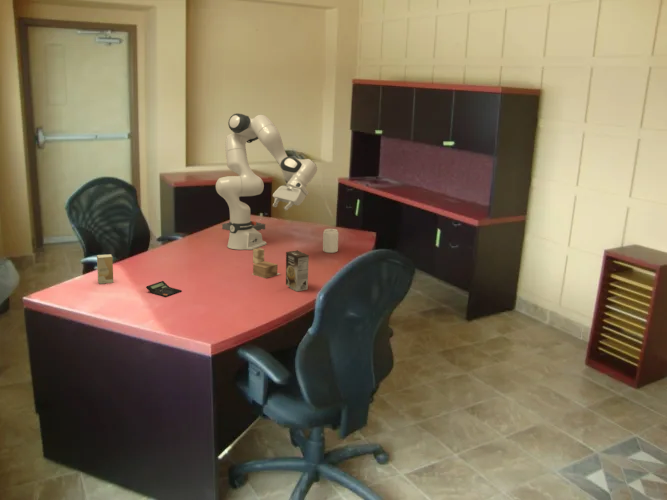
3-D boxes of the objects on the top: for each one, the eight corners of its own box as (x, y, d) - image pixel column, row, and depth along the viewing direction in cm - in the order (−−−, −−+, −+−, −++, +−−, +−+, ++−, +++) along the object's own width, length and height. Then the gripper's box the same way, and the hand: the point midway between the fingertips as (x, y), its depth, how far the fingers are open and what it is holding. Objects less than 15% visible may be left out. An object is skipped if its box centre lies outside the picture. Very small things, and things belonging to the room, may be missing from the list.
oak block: (259, 263, 319) (259, 247, 317) (264, 265, 316) (264, 249, 314) (253, 264, 316) (252, 249, 314) (257, 266, 313) (257, 250, 311)
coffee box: (285, 286, 285) (285, 251, 280) (296, 283, 289) (297, 249, 284) (296, 291, 278) (297, 256, 274) (308, 289, 282) (309, 254, 277)
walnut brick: (265, 271, 303) (265, 261, 302) (277, 274, 298) (277, 264, 297) (253, 274, 297) (253, 264, 296) (265, 278, 292) (265, 268, 291)
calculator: (165, 298, 266) (165, 291, 265) (146, 292, 272) (145, 286, 271) (181, 292, 274) (181, 285, 273) (162, 287, 280) (162, 280, 279)
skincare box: (99, 284, 280) (97, 257, 277) (97, 281, 283) (95, 255, 280) (114, 282, 283) (112, 256, 279) (112, 279, 286) (111, 253, 283)
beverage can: (320, 252, 342) (321, 230, 339) (326, 248, 349) (326, 227, 346) (334, 254, 339) (335, 232, 336) (339, 250, 346) (340, 229, 343)
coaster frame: (244, 224, 401) (244, 219, 401) (265, 228, 390) (265, 224, 390) (222, 228, 388) (222, 223, 387) (242, 233, 377) (242, 228, 376)
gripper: (279, 180, 326) (264, 200, 322) (304, 185, 311) (287, 207, 307) (286, 188, 330) (271, 208, 326) (311, 193, 315) (295, 215, 311)
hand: (279, 207), depth 317 cm, fingers open, 8 cm apart
